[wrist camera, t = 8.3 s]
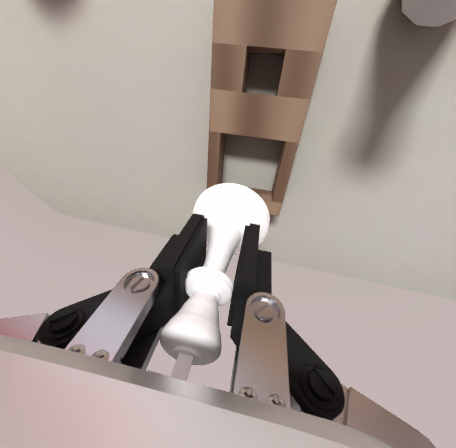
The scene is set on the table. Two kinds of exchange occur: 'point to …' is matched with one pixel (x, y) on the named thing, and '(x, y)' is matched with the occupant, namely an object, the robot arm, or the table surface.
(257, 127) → the socket plate
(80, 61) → the table surface
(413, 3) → the salt shaker
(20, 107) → the table surface
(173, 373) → the chess piece
